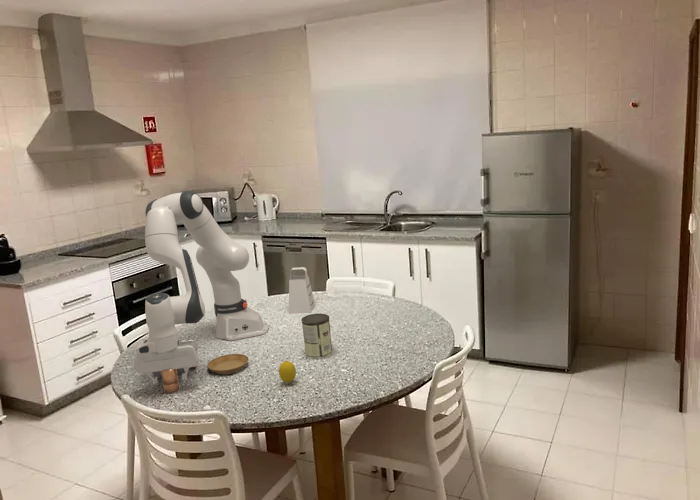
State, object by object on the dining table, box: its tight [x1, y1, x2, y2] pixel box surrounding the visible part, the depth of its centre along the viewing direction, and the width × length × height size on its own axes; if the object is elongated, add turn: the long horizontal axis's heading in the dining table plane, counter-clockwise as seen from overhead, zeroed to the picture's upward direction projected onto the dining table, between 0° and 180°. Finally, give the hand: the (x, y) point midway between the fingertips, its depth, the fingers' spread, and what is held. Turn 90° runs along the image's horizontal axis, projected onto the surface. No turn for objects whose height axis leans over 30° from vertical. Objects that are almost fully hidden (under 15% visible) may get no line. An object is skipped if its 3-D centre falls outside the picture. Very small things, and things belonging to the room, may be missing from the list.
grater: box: [288, 266, 316, 315], centre depth 263 cm, size 10×10×20 cm
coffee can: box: [301, 313, 333, 360], centre depth 209 cm, size 10×10×14 cm
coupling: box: [161, 369, 181, 395], centre depth 189 cm, size 5×5×8 cm
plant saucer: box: [206, 353, 250, 375], centre depth 205 cm, size 15×15×3 cm
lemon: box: [278, 360, 297, 384], centre depth 187 cm, size 6×6×8 cm
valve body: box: [153, 365, 198, 380], centre depth 206 cm, size 16×14×7 cm
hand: (170, 381), depth 190 cm, fingers open, 8 cm apart
